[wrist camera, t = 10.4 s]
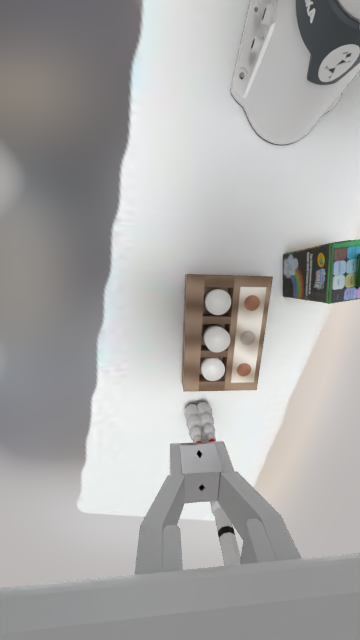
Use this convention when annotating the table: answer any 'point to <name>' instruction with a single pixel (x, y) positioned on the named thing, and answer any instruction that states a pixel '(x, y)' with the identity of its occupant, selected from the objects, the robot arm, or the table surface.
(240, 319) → the board
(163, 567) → the robot arm
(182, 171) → the table surface
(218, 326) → the middle button
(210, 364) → the button
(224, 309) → the button
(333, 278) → the chalk box
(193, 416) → the rocket model
